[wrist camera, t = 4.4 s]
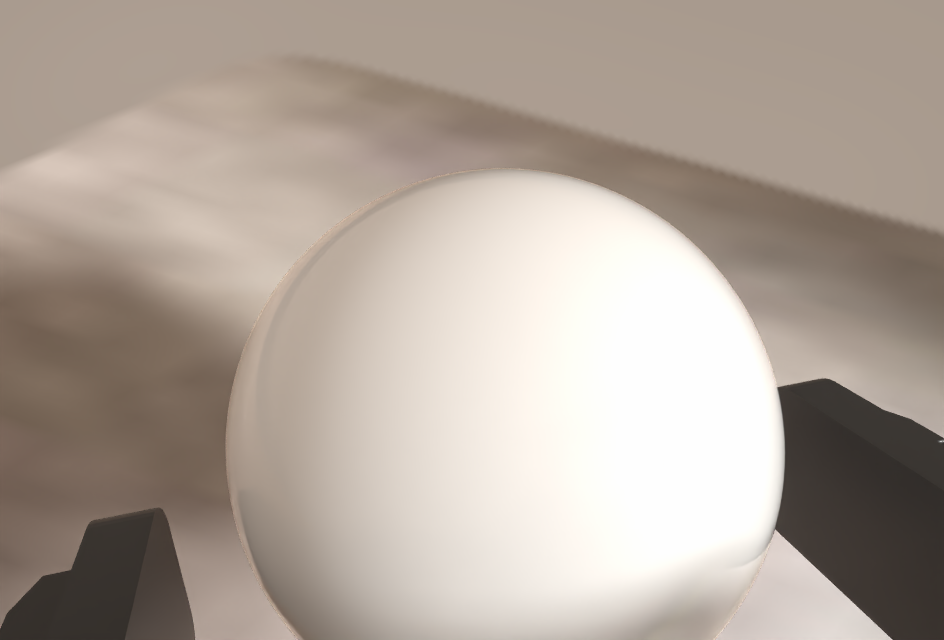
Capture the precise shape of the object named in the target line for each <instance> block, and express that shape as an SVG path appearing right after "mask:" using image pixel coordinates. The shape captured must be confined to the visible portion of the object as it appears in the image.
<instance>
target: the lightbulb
mask: <svg viewBox="0 0 944 640" xmlns="http://www.w3.org/2000/svg"><path fill="white" fill-rule="evenodd" d="M226 472H227V482H228V489H229V496H230V501H231V507H232V512H233V516H234V520H235V524H236V527H237V531H238V534H239V537H240V540H241V543H242V546H243V549H244V552H245V554H246V557H247V559H248V562H249V564H250V566H251V569H252V571H253V573H254V575H255V577H256V579H257V581H258V583H259V585H260V587H261V589H262V590H263V592H264V594H265V596H266V597H267V599H268V601H269V602H270V604H271V605H272V607H273V608H274V610H275V611H276V613H277V614H278V616H279V617H280V618H281V620H282V621H283V622H284V624H285V625H286V626H287V628H288V629H289V630H290V631H291V632H292V634H293V635H294V636H295V637H296V638H297V639H298V640H715V639H716V638H717V637H718V636H719V634H720V633H721V632H722V631H723V630H724V628H725V627H726V626H727V625H728V623H729V622H730V620H731V619H732V618H733V616H734V615H735V613H736V612H737V610H738V609H739V607H740V606H741V604H742V603H743V601H744V599H745V598H746V596H747V594H748V592H749V591H750V589H751V587H752V585H753V583H754V581H755V579H756V577H757V575H758V573H759V571H760V569H761V567H762V564H763V562H764V560H765V557H766V555H767V552H768V549H769V547H770V543H771V540H772V537H773V534H774V531H775V527H776V523H777V519H778V515H779V510H780V505H781V499H782V492H783V485H784V473H785V434H784V423H783V415H782V408H781V402H780V397H779V392H778V388H777V383H776V380H775V376H774V372H773V369H772V366H771V363H770V360H769V357H768V354H767V352H766V349H765V346H764V344H763V342H762V339H761V337H760V335H759V332H758V330H757V328H756V326H755V324H754V322H753V320H752V318H751V317H750V315H749V313H748V311H747V309H746V308H745V306H744V304H743V303H742V301H741V300H740V298H739V296H738V295H737V293H736V292H735V290H734V289H733V288H732V286H731V285H730V283H729V282H728V281H727V279H726V278H725V277H724V276H723V274H722V273H721V272H720V271H719V270H718V268H717V267H716V266H715V265H714V264H713V263H712V261H711V260H710V259H709V258H708V257H707V256H706V255H705V254H704V253H703V252H702V251H701V250H700V249H699V248H698V247H697V246H696V245H695V244H694V243H693V242H692V241H691V240H690V239H688V238H687V237H686V236H685V235H684V234H683V233H681V232H680V231H679V230H678V229H677V228H675V227H674V226H673V225H671V224H670V223H669V222H667V221H666V220H664V219H663V218H662V217H660V216H659V215H657V214H656V213H654V212H652V211H651V210H649V209H648V208H646V207H644V206H643V205H641V204H639V203H637V202H635V201H634V200H632V199H630V198H628V197H626V196H624V195H621V194H619V193H617V192H615V191H612V190H610V189H608V188H605V187H603V186H600V185H597V184H594V183H591V182H588V181H585V180H582V179H578V178H575V177H571V176H567V175H563V174H558V173H553V172H547V171H540V170H531V169H518V168H488V169H475V170H466V171H460V172H454V173H449V174H444V175H440V176H436V177H432V178H428V179H425V180H422V181H419V182H416V183H413V184H410V185H407V186H404V187H402V188H399V189H397V190H395V191H392V192H390V193H388V194H386V195H384V196H382V197H380V198H378V199H376V200H374V201H372V202H370V203H368V204H367V205H365V206H363V207H361V208H360V209H358V210H357V211H355V212H353V213H352V214H350V215H349V216H347V217H346V218H345V219H343V220H342V221H341V222H339V223H338V224H337V225H335V226H334V227H333V228H331V229H330V230H329V231H328V232H326V233H325V234H324V235H323V236H322V237H321V238H319V239H318V240H317V241H316V242H315V243H314V244H313V245H312V246H311V247H310V248H309V249H308V250H307V251H306V252H305V253H304V254H303V255H302V256H301V257H300V258H299V259H298V260H297V262H296V263H295V264H294V265H293V266H292V267H291V268H290V270H289V271H288V272H287V273H286V275H285V276H284V277H283V278H282V280H281V281H280V282H279V284H278V285H277V287H276V288H275V290H274V291H273V293H272V294H271V296H270V297H269V299H268V300H267V302H266V304H265V305H264V307H263V309H262V310H261V312H260V314H259V316H258V318H257V320H256V322H255V324H254V326H253V328H252V330H251V332H250V334H249V337H248V339H247V342H246V344H245V346H244V349H243V352H242V355H241V358H240V360H239V364H238V367H237V370H236V374H235V378H234V382H233V386H232V390H231V395H230V401H229V407H228V415H227V425H226Z"/></svg>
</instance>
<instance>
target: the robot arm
mask: <svg viewBox="0 0 944 640" xmlns="http://www.w3.org/2000/svg"><path fill="white" fill-rule="evenodd" d="M777 388H778V392H779V397H780V402H781V408H782V415H783V423H784V434H785V473H784V485H783V492H782V499H781V505H780V510H779V515H778V519H777V523H776V527H775V529H776V530H777V531H778V532H779V533H780V534H781V535H782V536H783V537H784V538H785V539H786V540H787V541H788V542H789V543H790V544H791V545H793V546H794V547H795V548H796V549H797V550H798V551H799V552H800V553H801V554H802V555H803V556H804V557H805V558H806V559H807V560H808V561H810V562H811V563H812V564H813V565H814V566H815V567H816V568H817V569H818V570H819V571H820V572H821V573H822V574H823V575H824V576H825V577H827V578H828V579H829V580H830V581H831V582H832V583H833V584H834V585H835V586H836V587H837V588H838V589H839V590H840V591H841V592H843V593H844V594H845V595H846V596H847V597H848V598H849V599H850V600H851V601H852V602H853V603H854V604H855V605H856V606H857V607H858V608H860V609H861V610H862V611H863V612H864V613H865V614H866V615H867V616H868V617H869V618H870V619H871V620H872V621H873V622H874V623H876V624H877V625H878V626H879V627H880V628H881V629H882V630H883V631H884V632H885V633H886V634H887V635H888V636H889V637H890V638H891V639H893V640H944V438H943V437H941V436H939V435H937V434H936V433H934V432H932V431H930V430H929V429H927V428H925V427H923V426H922V425H920V424H918V423H916V422H915V421H913V420H911V419H909V418H906V417H903V416H900V415H897V414H894V413H891V412H888V411H885V410H883V409H881V408H879V407H877V406H876V405H874V404H872V403H871V402H869V401H867V400H865V399H864V398H862V397H860V396H859V395H857V394H855V393H853V392H852V391H850V390H848V389H847V388H845V387H843V386H841V385H840V384H838V383H836V382H835V381H832V380H830V379H826V378H825V379H817V380H812V381H807V382H802V383H797V384H791V385H786V386H781V387H777ZM0 640H195V633H194V625H193V619H192V613H191V609H190V605H189V601H188V597H187V594H186V590H185V586H184V582H183V578H182V574H181V570H180V566H179V563H178V559H177V555H176V551H175V547H174V543H173V539H172V535H171V532H170V528H169V524H168V521H167V518H166V515H165V513H164V512H163V510H162V509H161V508H154V509H149V510H144V511H139V512H134V513H129V514H124V515H119V516H114V517H108V518H103V519H98V520H93V521H91V522H90V523H89V524H88V526H87V529H86V531H85V534H84V537H83V539H82V542H81V545H80V548H79V550H78V553H77V556H76V558H75V561H74V564H73V567H72V569H71V570H70V571H65V572H60V573H55V574H50V575H46V576H43V577H42V578H41V579H40V580H39V581H38V582H37V583H36V584H35V585H34V586H33V587H32V588H31V589H30V590H29V591H28V592H27V593H26V594H25V595H24V596H23V597H22V598H21V600H20V601H19V602H18V603H17V604H16V605H15V606H14V607H13V608H12V609H11V610H10V611H9V612H8V613H7V615H6V617H5V620H4V622H3V624H2V626H1V628H0Z"/></svg>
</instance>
